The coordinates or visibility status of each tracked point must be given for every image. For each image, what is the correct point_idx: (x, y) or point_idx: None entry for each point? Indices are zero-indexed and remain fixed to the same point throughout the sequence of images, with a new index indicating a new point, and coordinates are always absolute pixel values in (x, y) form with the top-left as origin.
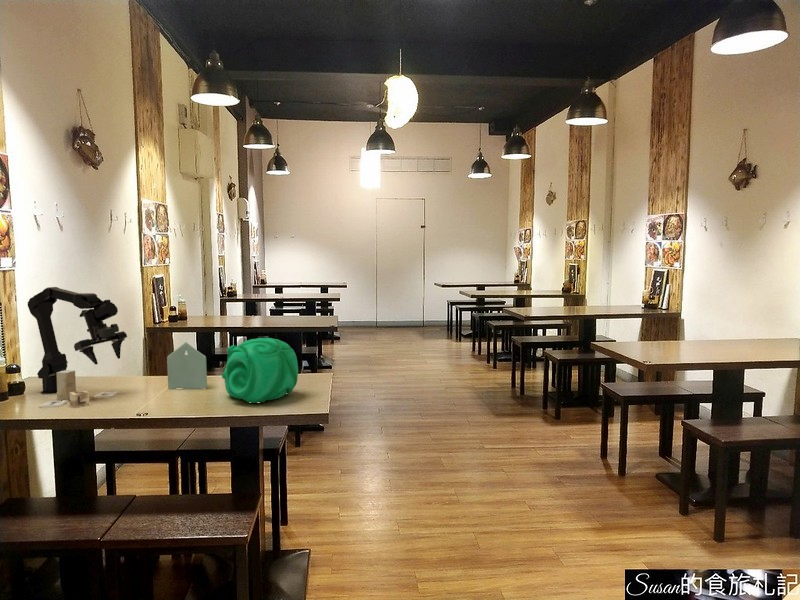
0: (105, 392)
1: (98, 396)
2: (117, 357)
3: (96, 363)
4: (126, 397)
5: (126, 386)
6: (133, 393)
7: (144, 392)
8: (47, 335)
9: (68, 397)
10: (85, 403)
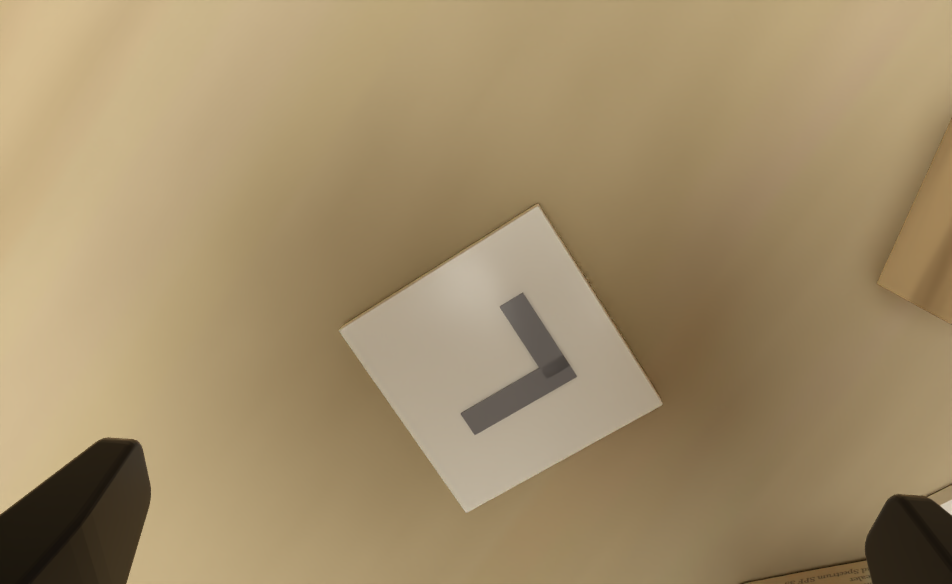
0: (448, 448)
1: (628, 351)
2: (134, 537)
3: (939, 510)
4: (446, 19)
5: None
6: (257, 133)
7: (145, 39)
8: None
9: None
10: None
